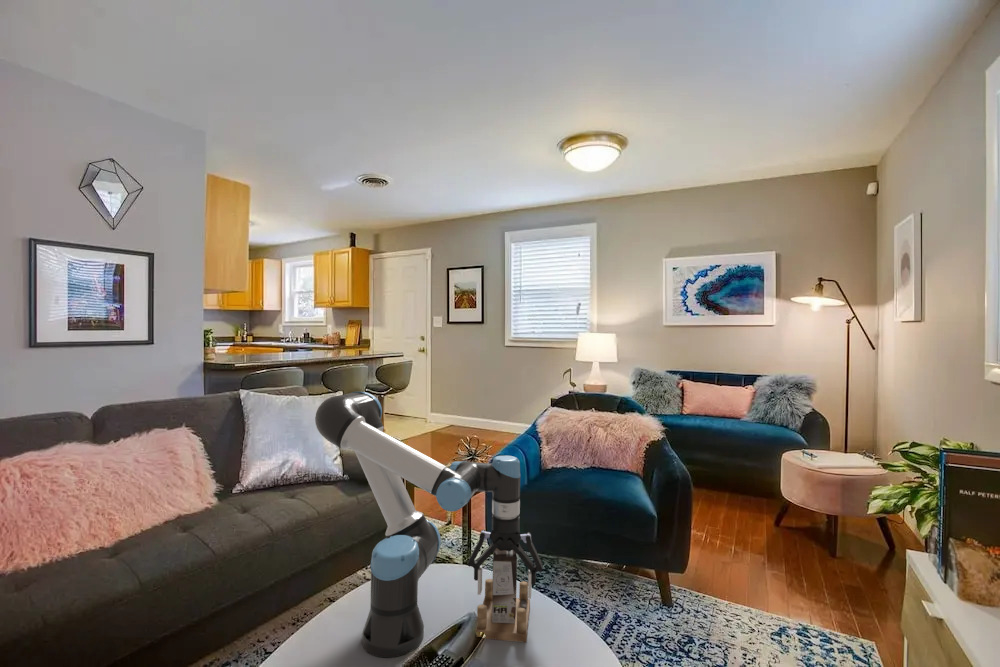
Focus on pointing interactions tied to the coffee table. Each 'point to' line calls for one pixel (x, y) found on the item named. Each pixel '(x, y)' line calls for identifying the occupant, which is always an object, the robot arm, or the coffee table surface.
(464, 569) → the coffee table surface
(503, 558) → the coffee box
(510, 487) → the robot arm
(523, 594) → the rounded tan peg
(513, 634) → the wooden peg stand
